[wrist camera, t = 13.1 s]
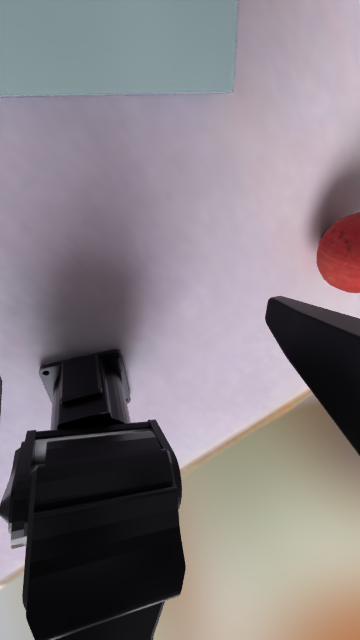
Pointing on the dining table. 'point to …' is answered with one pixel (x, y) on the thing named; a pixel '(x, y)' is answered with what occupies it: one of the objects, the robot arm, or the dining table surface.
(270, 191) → the dining table surface
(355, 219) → the onion
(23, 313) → the dining table surface
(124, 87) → the board
